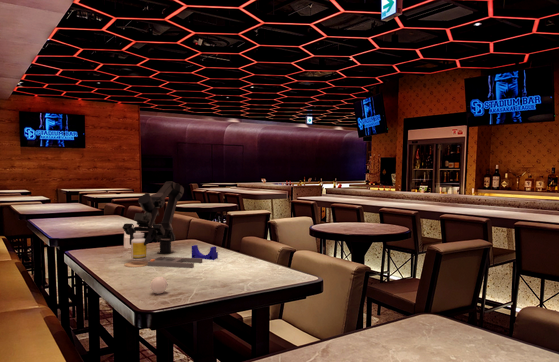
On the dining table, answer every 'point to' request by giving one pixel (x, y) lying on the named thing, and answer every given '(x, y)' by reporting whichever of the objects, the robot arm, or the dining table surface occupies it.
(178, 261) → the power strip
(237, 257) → the dining table surface
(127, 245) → the cylinder with rectangular tab
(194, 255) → the cable clip
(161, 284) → the plastic egg
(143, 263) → the cork coaster
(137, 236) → the pill bottle
